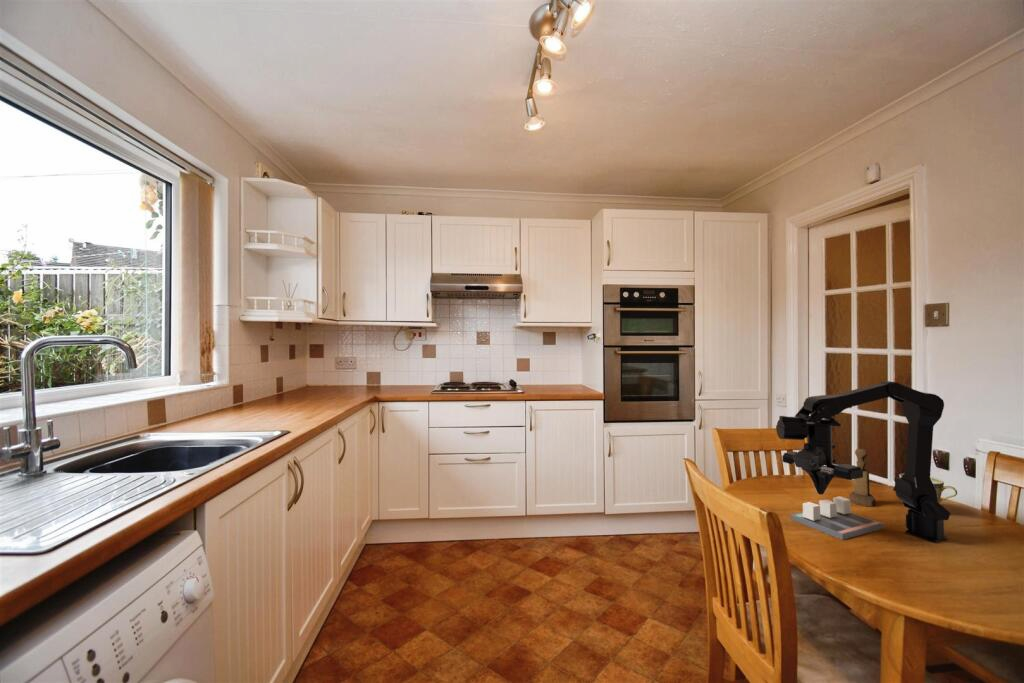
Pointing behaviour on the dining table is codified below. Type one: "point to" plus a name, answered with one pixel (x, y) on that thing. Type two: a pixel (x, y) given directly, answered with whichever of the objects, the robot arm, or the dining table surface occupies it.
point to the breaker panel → (840, 524)
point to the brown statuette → (862, 483)
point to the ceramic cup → (939, 488)
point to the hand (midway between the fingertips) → (820, 494)
